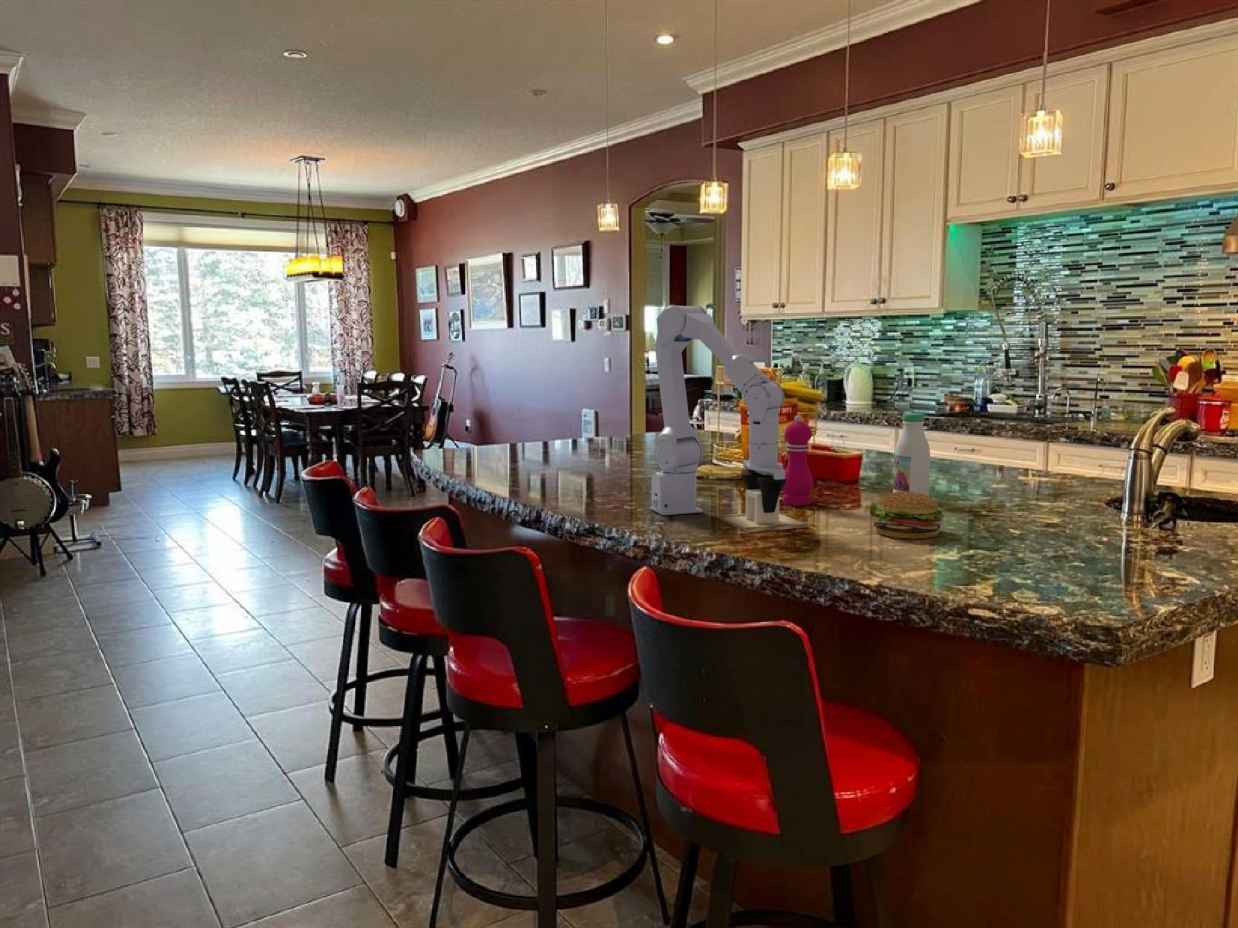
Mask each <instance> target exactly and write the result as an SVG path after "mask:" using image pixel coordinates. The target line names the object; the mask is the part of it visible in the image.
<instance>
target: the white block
mask: <svg viewBox="0 0 1238 928" xmlns="http://www.w3.org/2000/svg"><path fill="white" fill-rule="evenodd" d="M780 497H781V496H780V495H779V498H778V501H777V505H776V509H775V512H772V513H764V510H763V504H762V494H761V490H760V489H754V490H747V489H745V513H744V514H745V519H747V520H752V519H754V523H756V524H760V523H773V522H779V513H780Z"/></svg>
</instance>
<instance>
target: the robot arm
mask: <svg viewBox="0 0 1238 928" xmlns="http://www.w3.org/2000/svg"><path fill="white" fill-rule="evenodd" d="M656 326H657V333H656V339H655V343H654V347H655V349H654V350H655V359H656V366H657V368H656V369H657V375H658V385H659V393H660V402H661V408H662V409H661V411H662V418H663V425H664V426H663V429H662V430H661V431H660V433H659V434H658V436H656V437H657V438H656V441H657V447H656V452H655V459H656V463H657V464H658V466H659V468H661V469H660V470H661V471H659V472H657V471H656V472H654V473H653V474H652V477H651V481H650V483H651V486H650V487H651V488H650V489H651V495H650V496H651V499H650V501H651V506H650V510H652V511H654V512H656V513H658V514H659V515H662V516H670V515H683V514H696V513H697V514H698V513H704V509H702V508H699V507H697V470H698V468H699V464H700V463H701V462H702V460H703V459H704V458H703V457H704V448H703V446H702V444H701V442H700V440H699V435H698V434H699V433H698V432H697V430H696V429H695V428H694V427H693V426H692V425H691V424H690V415H689V407H688V397H687V390H686V381H685V371H684V364H683V355H682V352H683V351H684V350H685V348H686V347H687V346H688V345H689V343H691V342H692V341H694V340H698V341H700V342H701V343H702V344H703V345H704V346H705V347H706V348H707V349H708V350H709V351H710V352H711V353H712V354H713V355H714V356H715V357H716V358H717V359H718V361H720V362H721V363H722V364H723V365H724V375H725V376H726V378H728V379H729V380H730V382H731V383H732V384H733V385H734V386H735V387H736V389H737V390H738V391H739V392H740V393H741V394H742V396H743V404H744V407H745V408H746V409H747V411H748V419H749V431H748V432H749V433H748V434H749V435H748V436H749V438H748V439H749V440H748V441H749V443H748V444H749V449H748V451H749V452H748V455H749V458H748V460H747V459H744V460H743V461H742V462H743V471H747V472H743V473H741V474H740V476H741V478H742V480H743V483H744V484H745V487H746V490H754V489H760V490H761V494H762V504H763V510H764V513H772V512H775V509H776V505H777V501H778V498H779V499H780V496H779V495H780V494H781V492H782V490H783V489H782V488H783V486H784V485H785V483H786V478H785V470H786V469H785V468H784V463H781V462H780V463H779V418H780V415H779V413H780V409H781V407H782V405H783V404H784V402H785V393H784V389H783V388H782V386H781V385H780V383H779V382H777V381H772V380H769V379H770V378H769V377H768V375H767V374H764V373H763V372H762V370H760V369H759V368H758V366H756V365H755V363H754V362H755V359H754V358H753V357H752V356H748V355H746V354H738V352H737V351H736V350H735V349H734V347H733V346H732V345H731V344H730V342H729V341H728V339H726V337H725V336H724V335H723V333H722V332H721V331H720V329H719V328H718V327H717V326H716V324H715V322H714V319H713V317H712V316H711V315H710V314H709V313H707V311H706V309H705V308H704V307H702V306H700V305H675V304H669V305H666V306H665V307H664V308H663V309H662V311H661V312H660V313H659V314H658V316H657V317H656ZM678 439H679V440H678Z"/></svg>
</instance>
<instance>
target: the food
mask: <svg viewBox="0 0 1238 928" xmlns="http://www.w3.org/2000/svg"><path fill="white" fill-rule="evenodd" d="M944 512H945V513H946V512H947V508H945V507H944V506H940V505H939V504H938V502H937V500H935V498H932V497H931V496H930V495H929V496H928V495H925V494H921V493H916V492H895V493H893V492H891V493H888V494H886V495H884V496H882V497H881V498H880V499H879V500H878V502H874V501H873V502H871V503H870V509H869V515H870V516H872V517H874V518H875V519H873V526H874V529H875V532H876V533H878V534H880V535H882V534H883V535H882V536H884V535H886V536H885V537H888V536H890V537H889V538H893V537H896V538H895V539H901V538H908V539H907V540H920V539H919V538H926V539H931V538H930V537H932V538H935V537H937V536H939V533H940V530H941V526H942V524H943V523H944V521H943V518H945V514H943V513H944ZM917 538H918V539H917Z"/></svg>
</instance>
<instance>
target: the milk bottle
mask: <svg viewBox="0 0 1238 928" xmlns="http://www.w3.org/2000/svg"><path fill="white" fill-rule="evenodd" d="M902 424H903V428H902V431H901V434H900V436H899V438H898V440H897V442H896V445H895V449H894V457H893V458H894V459H893V479H892V481H893V484H892V486H893V487H892V489H893V490H892V493H895V492H916V493H921V494H925V495H928V496H930V478H931V476H930V475H931V473H930V472H931V449H930V448H931V447H930V445H929V441H928V439H927V437H926V435H925V434H926V433H925V431H924V424H925V414H923V413H918V412H909V413H908V412H906V413H903V414H902Z"/></svg>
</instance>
